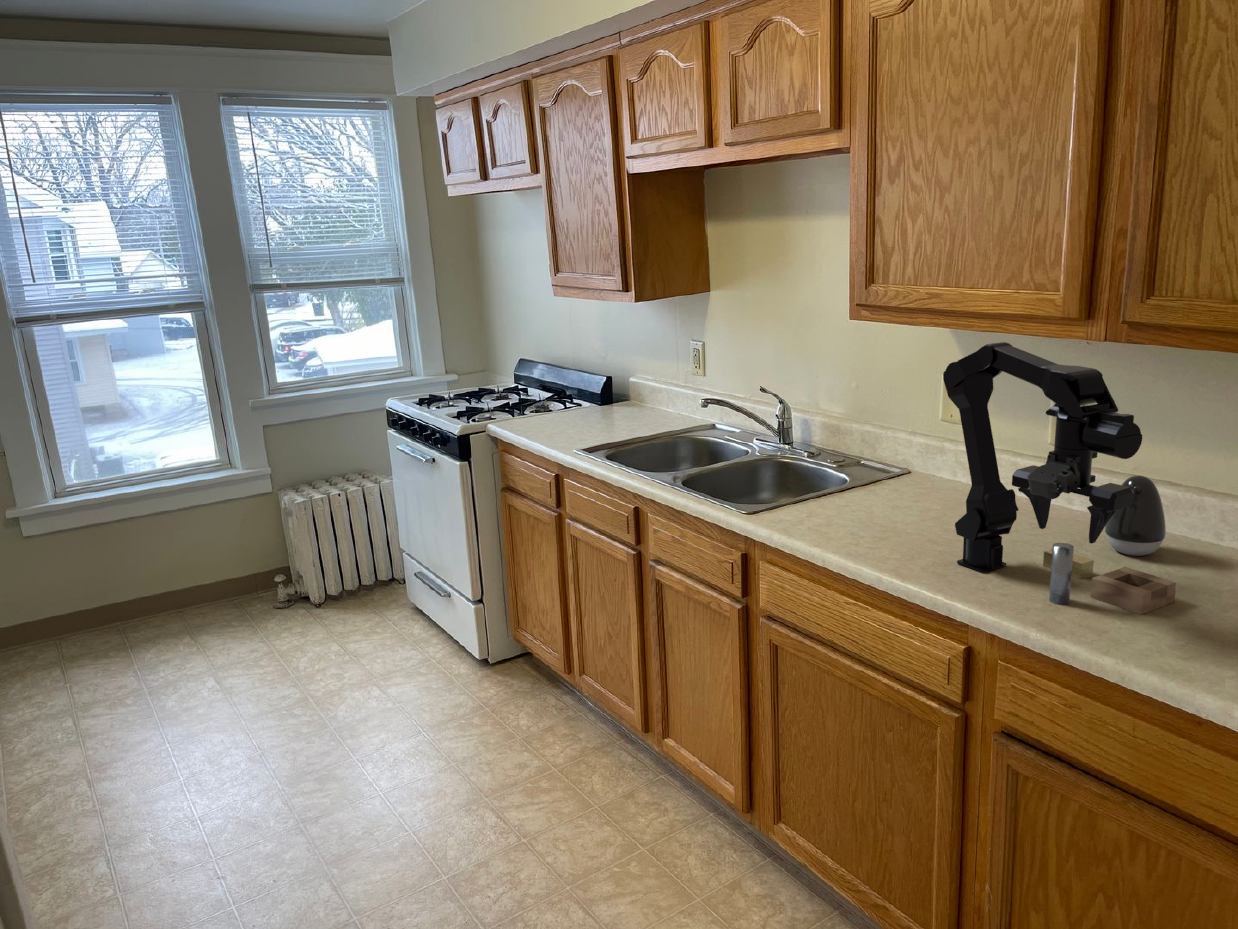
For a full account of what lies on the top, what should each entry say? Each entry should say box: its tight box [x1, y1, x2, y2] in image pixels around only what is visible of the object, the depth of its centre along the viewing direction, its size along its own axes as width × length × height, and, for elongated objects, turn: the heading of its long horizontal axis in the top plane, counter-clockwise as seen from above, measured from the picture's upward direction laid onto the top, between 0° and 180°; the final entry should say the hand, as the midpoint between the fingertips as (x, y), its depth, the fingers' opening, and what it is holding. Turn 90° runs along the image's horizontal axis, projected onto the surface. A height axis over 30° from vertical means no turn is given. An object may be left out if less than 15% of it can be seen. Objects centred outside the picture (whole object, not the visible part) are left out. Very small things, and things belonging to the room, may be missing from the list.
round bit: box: [1048, 542, 1075, 606], centre depth 156 cm, size 3×3×10 cm
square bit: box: [1042, 548, 1095, 580], centre depth 169 cm, size 8×3×3 cm, turn 27°
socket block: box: [1090, 566, 1177, 615], centre depth 156 cm, size 9×9×4 cm
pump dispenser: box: [1104, 474, 1167, 557], centre depth 175 cm, size 10×10×15 cm
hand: (1066, 535), depth 154 cm, fingers open, 9 cm apart
